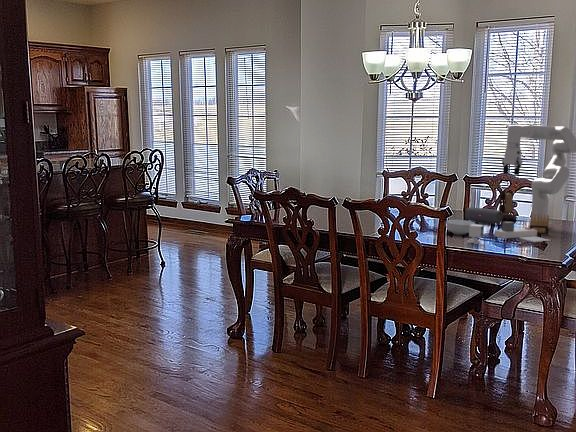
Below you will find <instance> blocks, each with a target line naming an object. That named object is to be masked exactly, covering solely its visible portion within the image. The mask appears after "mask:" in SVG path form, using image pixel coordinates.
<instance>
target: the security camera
mask: <svg viewBox="0 0 576 432" xmlns="http://www.w3.org/2000/svg"><path fill="white" fill-rule="evenodd" d="M484 225H485V224H477V223H475V224H472V225H470V227H469V233H468V237H469V239H468V240H467V242H466V243H467V244H471V243H474V245H478V244H480V243H481V240H480V239H481V238H483V236H484V228H485V226H484ZM477 238H480V239H477Z"/></svg>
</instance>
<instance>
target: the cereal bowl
mask: <svg viewBox="0 0 576 432" xmlns="http://www.w3.org/2000/svg"><path fill="white" fill-rule="evenodd" d="M446 221H447V226H446V225H445V227H446V229H447V230H448V231H449V232H451V233H452V234H454V235H462V236H463V235H467V234H469V227H470V225H472V224H476V222H475V221H472V220H464V219H448V220H446Z"/></svg>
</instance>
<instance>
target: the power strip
mask: <svg viewBox="0 0 576 432" xmlns="http://www.w3.org/2000/svg"><path fill="white" fill-rule="evenodd" d="M533 236H536V237H538V234H537V230H534V229H533V228H532V229H531V228H529V227H521V228H514V231H508V232H506V231H502V229H494V237H496V238H501V239H515V238H517V239H518V238H520V237H533Z"/></svg>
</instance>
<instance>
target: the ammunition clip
mask: <svg viewBox="0 0 576 432" xmlns="http://www.w3.org/2000/svg"><path fill="white" fill-rule="evenodd" d="M530 214H531V213H530ZM549 221H550V216H549V214H548V215H547V219H546V216H545V215H544V218H543V221H542V214H541V217H540V223H539V214H538V216H537V221H536V214H535V215H534V220H533V215H532V214H531V215H530V219H529V225H530V228H531V229H534V230H537V235H542V234H546V235H545V236H549V229H550V224H549ZM542 223H543V225H542ZM545 225H546V226H545ZM548 228H549V229H548Z"/></svg>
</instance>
